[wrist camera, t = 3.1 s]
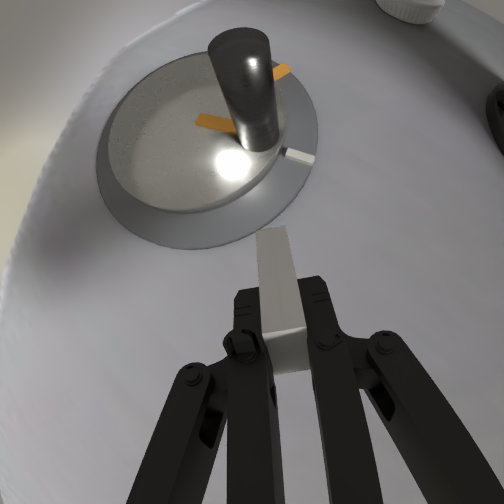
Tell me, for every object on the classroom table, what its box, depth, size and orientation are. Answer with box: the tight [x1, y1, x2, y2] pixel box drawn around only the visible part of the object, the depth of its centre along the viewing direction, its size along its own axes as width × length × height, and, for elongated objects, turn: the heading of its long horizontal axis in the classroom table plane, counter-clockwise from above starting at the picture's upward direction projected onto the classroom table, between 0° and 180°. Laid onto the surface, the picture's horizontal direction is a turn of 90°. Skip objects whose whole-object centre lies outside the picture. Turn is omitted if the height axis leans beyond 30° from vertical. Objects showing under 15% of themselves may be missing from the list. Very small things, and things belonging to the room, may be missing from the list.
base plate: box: [97, 51, 318, 250], centre depth 29 cm, size 24×24×2 cm
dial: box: [108, 27, 287, 214], centre depth 22 cm, size 18×18×13 cm
